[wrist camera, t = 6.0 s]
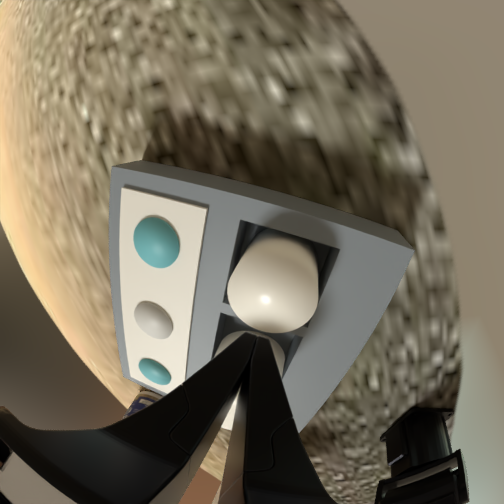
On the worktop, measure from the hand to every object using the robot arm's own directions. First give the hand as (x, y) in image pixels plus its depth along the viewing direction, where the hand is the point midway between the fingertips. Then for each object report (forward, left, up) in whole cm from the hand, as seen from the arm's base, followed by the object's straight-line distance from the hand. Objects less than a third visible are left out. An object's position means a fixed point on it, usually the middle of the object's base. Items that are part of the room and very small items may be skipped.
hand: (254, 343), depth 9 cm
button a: (0, 0, -7) cm, 7 cm away
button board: (+2, +6, -8) cm, 10 cm away
